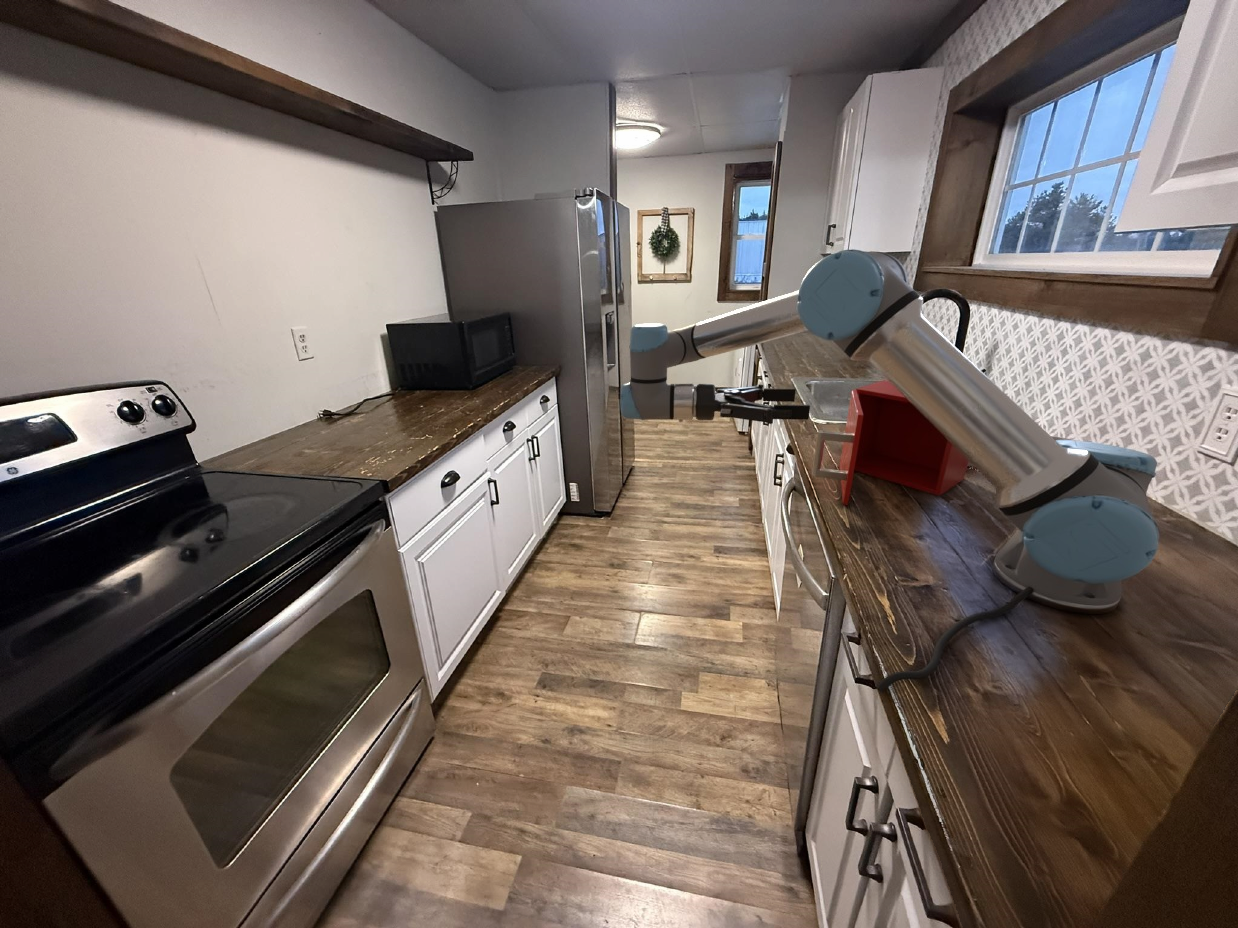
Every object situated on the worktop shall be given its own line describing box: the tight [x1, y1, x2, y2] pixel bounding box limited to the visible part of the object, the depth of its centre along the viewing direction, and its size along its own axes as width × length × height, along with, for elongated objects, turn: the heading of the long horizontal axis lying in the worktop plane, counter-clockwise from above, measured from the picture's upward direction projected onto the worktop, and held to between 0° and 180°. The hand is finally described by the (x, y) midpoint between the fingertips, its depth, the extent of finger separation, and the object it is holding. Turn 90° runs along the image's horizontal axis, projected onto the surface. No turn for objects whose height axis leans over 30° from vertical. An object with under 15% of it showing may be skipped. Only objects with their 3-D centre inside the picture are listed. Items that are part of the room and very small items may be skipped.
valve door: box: [811, 389, 864, 506], centre depth 111 cm, size 8×22×20 cm, turn 159°
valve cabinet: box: [854, 379, 968, 496], centre depth 116 cm, size 14×22×20 cm, turn 38°
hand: (801, 403), depth 99 cm, fingers open, 13 cm apart
